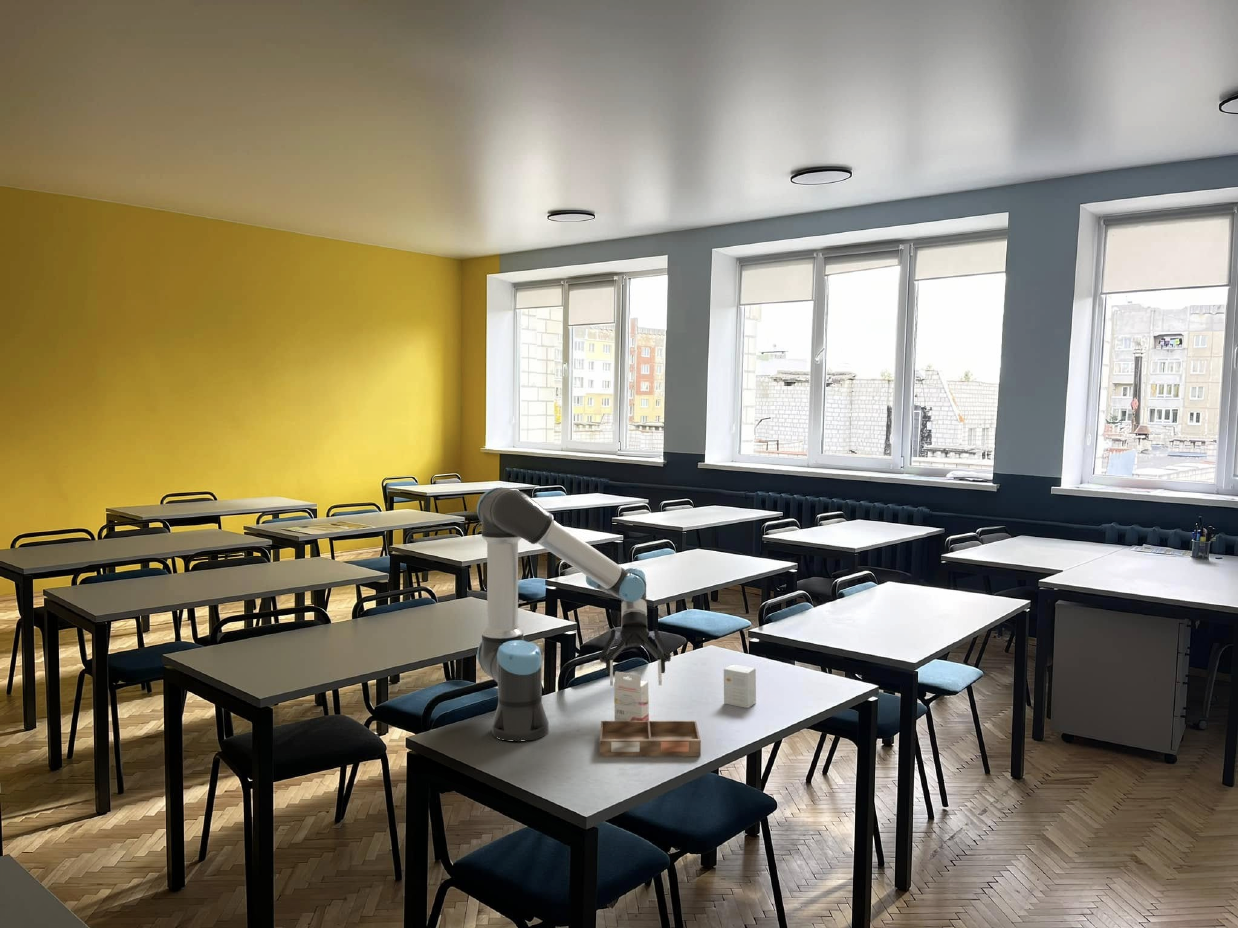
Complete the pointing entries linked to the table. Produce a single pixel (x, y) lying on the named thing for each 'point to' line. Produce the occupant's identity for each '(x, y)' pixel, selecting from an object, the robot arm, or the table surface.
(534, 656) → the robot arm
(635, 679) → the ink cartridge box
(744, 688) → the small box
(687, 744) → the wooden compartment tray
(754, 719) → the table surface
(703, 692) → the table surface
